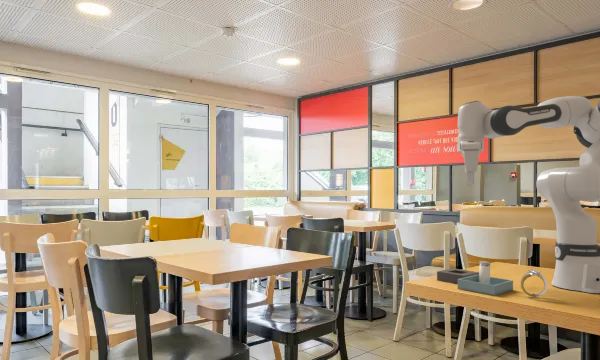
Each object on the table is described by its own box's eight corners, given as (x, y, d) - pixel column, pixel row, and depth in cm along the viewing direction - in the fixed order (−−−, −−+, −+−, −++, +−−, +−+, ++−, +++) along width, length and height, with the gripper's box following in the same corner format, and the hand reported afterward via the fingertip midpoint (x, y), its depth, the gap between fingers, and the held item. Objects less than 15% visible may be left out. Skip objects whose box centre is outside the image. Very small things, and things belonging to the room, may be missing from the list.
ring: (546, 297, 132) (546, 269, 132) (548, 299, 129) (548, 271, 129) (520, 294, 134) (520, 268, 134) (521, 297, 131) (521, 269, 131)
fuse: (488, 286, 143) (488, 261, 143) (491, 288, 140) (491, 263, 140) (477, 286, 143) (477, 261, 143) (481, 288, 140) (481, 262, 140)
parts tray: (476, 283, 150) (476, 274, 150) (513, 290, 141) (513, 280, 141) (457, 288, 142) (457, 279, 142) (494, 295, 133) (494, 285, 133)
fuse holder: (452, 276, 162) (452, 268, 162) (479, 281, 154) (479, 272, 154) (437, 280, 155) (437, 271, 155) (463, 284, 148) (463, 275, 148)
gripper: (461, 149, 172) (461, 185, 171) (461, 144, 152) (461, 184, 152) (478, 148, 169) (478, 185, 169) (481, 143, 150) (481, 185, 150)
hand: (470, 185), depth 160 cm, fingers open, 8 cm apart
